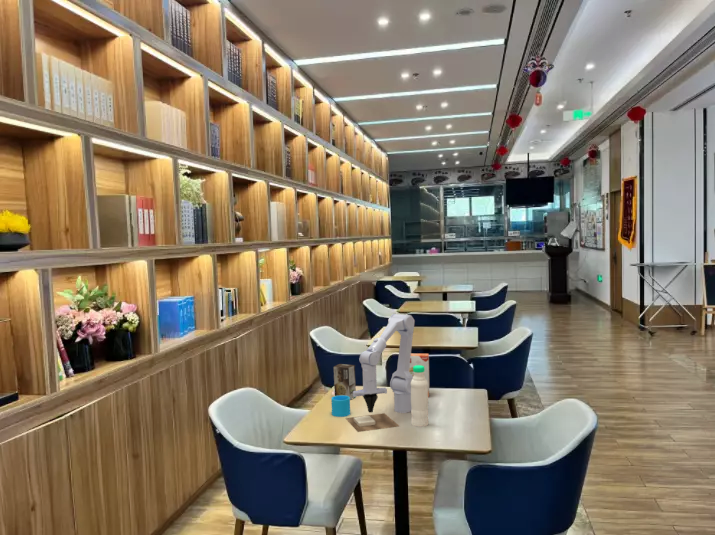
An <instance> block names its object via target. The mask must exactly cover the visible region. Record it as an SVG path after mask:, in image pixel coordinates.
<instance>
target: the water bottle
mask: <svg viewBox="0 0 715 535" xmlns="http://www.w3.org/2000/svg"><path fill="white" fill-rule="evenodd" d="M424 371H425V368H424V366H422V365H416V366H414V367H413V372H414V376H413V379H412V381H411V407H412V409H411V413H410V415H411V425H412V426H414V427H426V426H428V425H429V422H430V421H429V409H428V408H429V407H428V406H429V397H428V389H427V386H428V383H427V380H426V378H425V376H424Z"/></svg>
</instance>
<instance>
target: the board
mask: <svg viewBox="0 0 715 535" xmlns="http://www.w3.org/2000/svg"><path fill="white" fill-rule="evenodd" d="M362 416H363V415H361V416H360V415H359V416H358V417H362ZM366 416H370V417H371V418H372V419H373V420H374V421H375V425H369V426H362V427H359V426H358V425H357V424H356V423H355V422H354V417H355V416H353V417H346V418H345V420H346V421H347V422H348V423H349V424H350V425H351V426H352V427H353V429H354V430H355V431H356V432H357V433H360V432H367V431H369V432H370V431H375V430H383V429H389V428H390V429H391V428H398V427H400V425H399V424H398V423H397V422H395V421H394V420H393V419H392V418H391V416H388V415H387V414H386V413H385V412H383V413H376V414H368V415H366Z"/></svg>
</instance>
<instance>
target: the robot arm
mask: <svg viewBox="0 0 715 535" xmlns="http://www.w3.org/2000/svg"><path fill="white" fill-rule="evenodd" d="M387 320H388V322H387V325H386V327H385V328H384V330H383V331H382V333H381V335H380V336H379V337H375V338H374V339H373V341H372V342H371V344H370V345H369V347H367V349H366V350H364V351H362V352H361V353H360V355H359V358H358V359H359V363H360V364H361V369H362V389H359V390H356V391H353V396H354V397H355V398H357V397H362V398H363V399H364V401H365V404H366V406H367V407H366V408H367V412H368V413H370V414H371V413H373V411H374V407H375V404H376V402H377V400H378V396H379V395H380V394H381V395H382V394H384V395H385V394H388V388H386V387H378V386H377V385H378V384H377V383H378V382H377V381H378V380H377V365H378V364H379V361H380V358H381V355H382V353H383V352H384V351H385V349H386V347H387V342H388V341H389V339H390V338H391V337H392V336H393V335H394V334H395V333H396V332H397V333H399V335H400V339H399V340H400V341H399V350H398V359H397V368H396V371H394V372H393V373H391V374H392V376H391V379H390V382H389V387H390V389H391V390H392V392H393V402H394V404H393V405H394V406H393V407H394V412H396V413H399V414H400V413H401V414H402V413H403V414H405V413H410V412H411V409H412V407H411V381H412V379H413V376H412V375H411V373H410V372H409V366H410V357H411V353H412V346H413V338H414V337H413V336H414V329H415V322H416V321H415V319H414V317H413V316H412V314H400V313H392V314H391V315H390V317H389V318H388V319H387ZM401 377H404V378H401ZM378 394H379V395H378Z"/></svg>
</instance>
